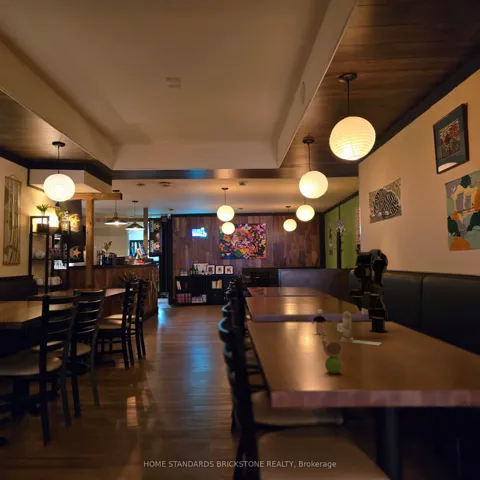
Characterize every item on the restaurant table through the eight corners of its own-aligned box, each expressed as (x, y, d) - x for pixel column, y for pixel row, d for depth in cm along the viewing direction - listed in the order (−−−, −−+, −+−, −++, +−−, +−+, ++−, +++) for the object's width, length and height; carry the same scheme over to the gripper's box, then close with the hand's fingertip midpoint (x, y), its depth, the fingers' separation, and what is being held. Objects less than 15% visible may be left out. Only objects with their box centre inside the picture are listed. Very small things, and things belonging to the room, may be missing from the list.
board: (383, 343, 169) (383, 342, 170) (379, 346, 164) (379, 345, 164) (342, 339, 180) (342, 338, 180) (337, 342, 174) (337, 340, 174)
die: (342, 330, 202) (342, 322, 203) (348, 332, 199) (348, 323, 199) (336, 331, 200) (336, 323, 200) (343, 332, 197) (342, 324, 197)
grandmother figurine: (327, 334, 193) (326, 308, 194) (328, 335, 189) (327, 309, 190) (311, 333, 194) (311, 308, 194) (312, 335, 190) (311, 309, 191)
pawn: (349, 339, 178) (349, 310, 179) (355, 341, 173) (354, 311, 174) (339, 339, 177) (339, 310, 178) (344, 341, 172) (344, 312, 173)
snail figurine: (320, 371, 128) (319, 334, 129) (338, 370, 128) (338, 334, 129) (325, 376, 123) (324, 338, 123) (344, 375, 123) (343, 337, 124)
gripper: (366, 279, 173) (367, 313, 172) (393, 278, 183) (393, 310, 182) (347, 278, 183) (348, 311, 182) (373, 277, 193) (374, 308, 192)
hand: (367, 310), depth 184 cm, fingers open, 9 cm apart
